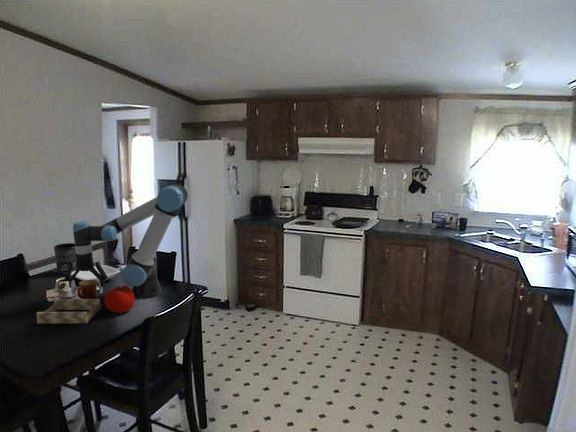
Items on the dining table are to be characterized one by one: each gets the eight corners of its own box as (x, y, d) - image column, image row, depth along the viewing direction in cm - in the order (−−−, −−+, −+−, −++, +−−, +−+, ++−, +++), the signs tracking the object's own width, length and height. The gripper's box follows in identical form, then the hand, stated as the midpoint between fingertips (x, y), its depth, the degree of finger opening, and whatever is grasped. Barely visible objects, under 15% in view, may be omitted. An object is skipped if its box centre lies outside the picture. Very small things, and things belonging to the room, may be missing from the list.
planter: (83, 273, 250) (81, 245, 247) (60, 278, 241) (58, 249, 238) (75, 268, 259) (73, 242, 256) (53, 273, 250) (50, 245, 246)
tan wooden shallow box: (100, 308, 199) (100, 299, 198) (86, 323, 182) (85, 312, 182) (55, 308, 197) (54, 299, 196) (37, 323, 181) (36, 313, 180)
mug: (87, 297, 212) (86, 278, 211) (102, 299, 211) (101, 280, 209) (71, 306, 201) (70, 286, 199) (86, 307, 199) (85, 287, 197)
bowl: (102, 272, 253) (102, 263, 252) (124, 280, 240) (123, 271, 239) (66, 281, 235) (65, 272, 234) (87, 290, 222) (86, 280, 221)
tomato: (122, 318, 189) (121, 294, 187) (98, 313, 193) (97, 289, 191) (141, 307, 201) (140, 285, 199) (119, 303, 206) (117, 281, 204)
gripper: (112, 250, 206) (115, 290, 209) (61, 251, 204) (65, 291, 208) (106, 254, 198) (110, 295, 202) (54, 255, 197) (58, 296, 200)
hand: (87, 293), depth 205 cm, fingers open, 13 cm apart
